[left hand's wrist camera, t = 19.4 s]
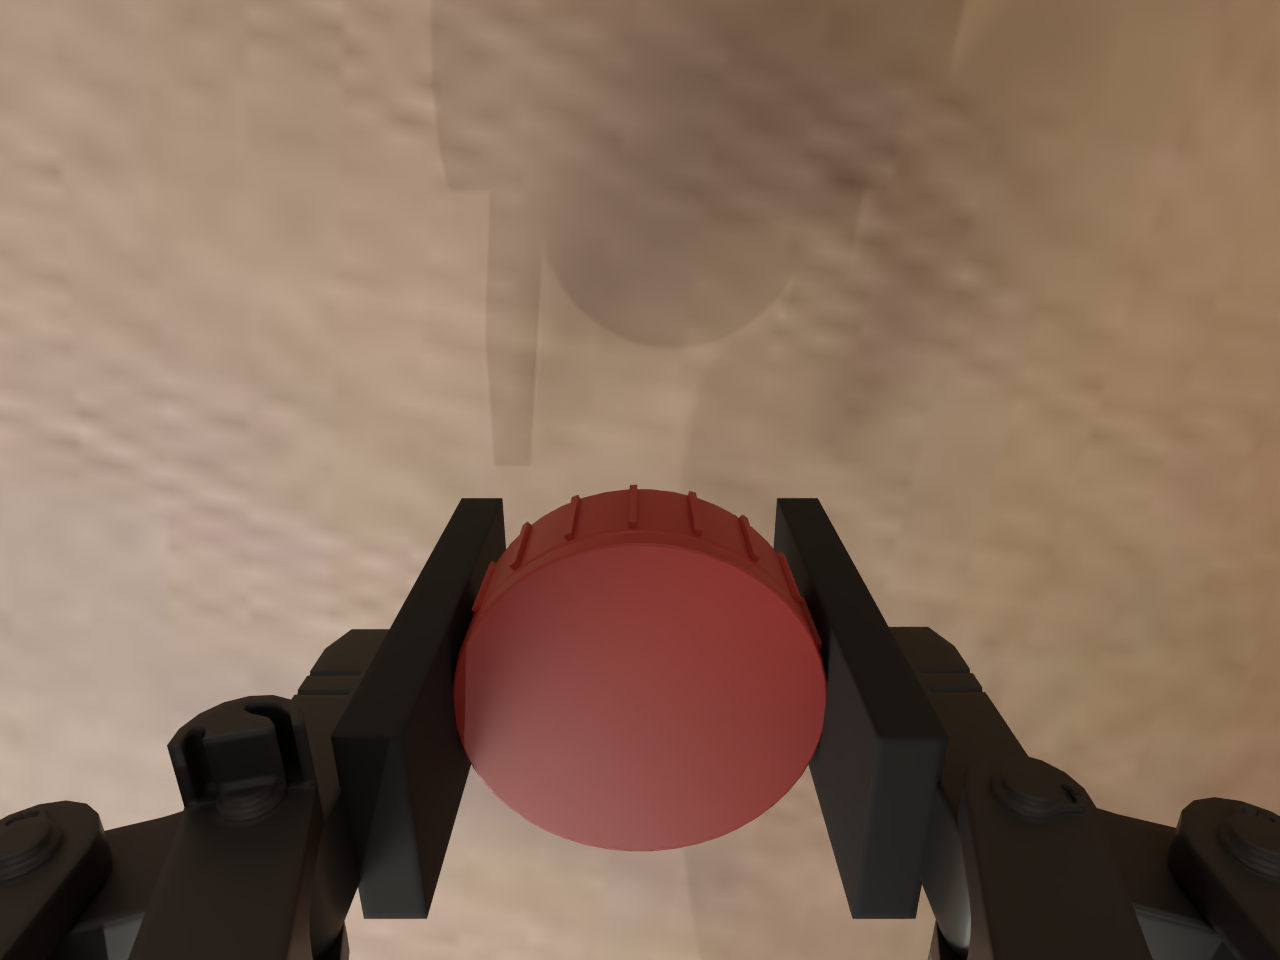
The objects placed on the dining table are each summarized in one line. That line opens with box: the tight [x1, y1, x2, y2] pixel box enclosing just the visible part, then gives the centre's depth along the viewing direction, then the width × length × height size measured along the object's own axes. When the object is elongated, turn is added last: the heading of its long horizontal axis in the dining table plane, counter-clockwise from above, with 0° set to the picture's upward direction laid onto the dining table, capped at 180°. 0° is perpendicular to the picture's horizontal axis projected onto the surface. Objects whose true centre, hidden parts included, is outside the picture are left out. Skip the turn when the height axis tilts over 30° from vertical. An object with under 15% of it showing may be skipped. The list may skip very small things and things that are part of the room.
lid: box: [453, 485, 827, 851], centre depth 11 cm, size 5×5×2 cm
